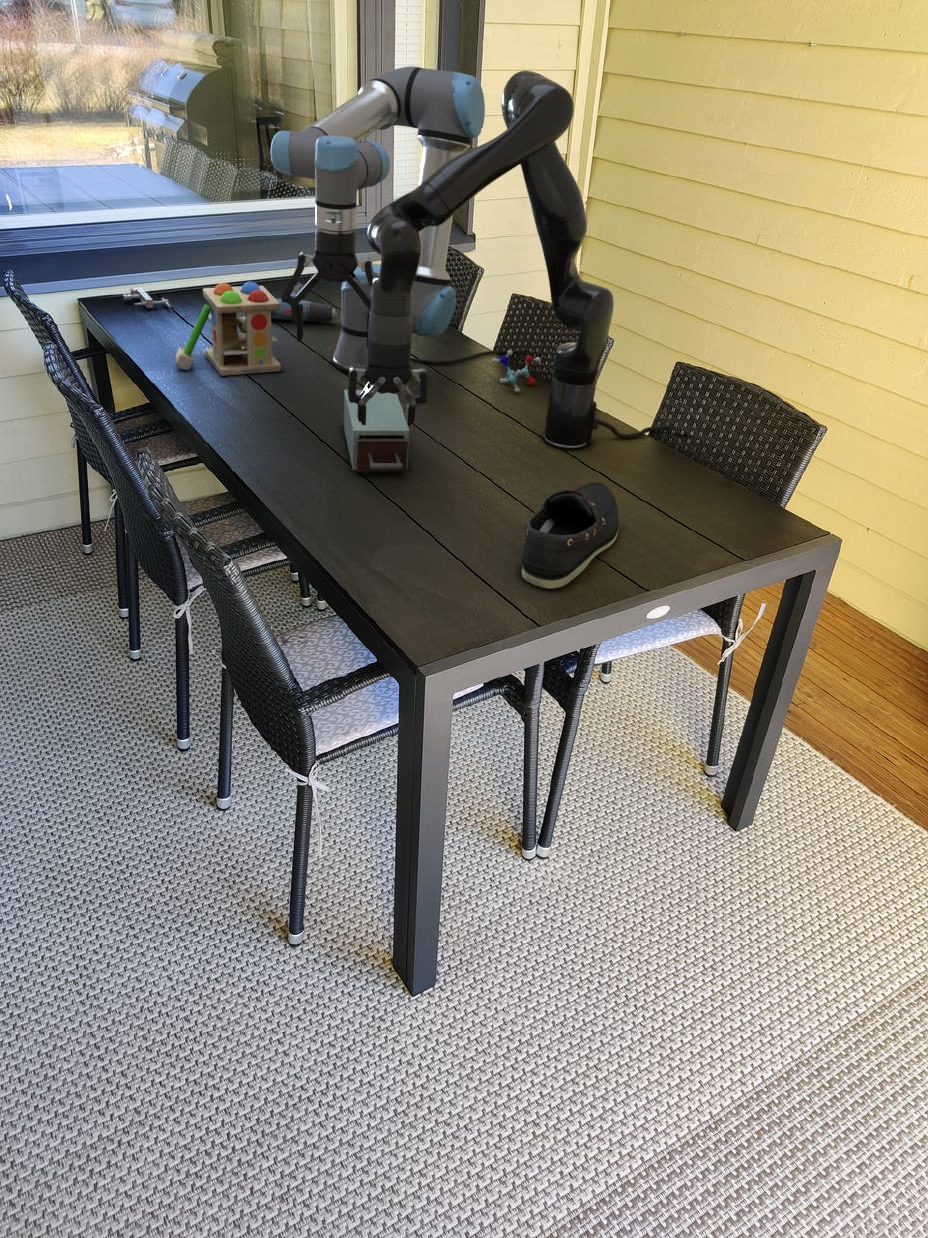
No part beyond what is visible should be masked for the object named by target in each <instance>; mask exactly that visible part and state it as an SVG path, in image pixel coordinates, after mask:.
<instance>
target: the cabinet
mask: <svg viewBox="0 0 928 1238" xmlns="http://www.w3.org/2000/svg"><path fill="white" fill-rule="evenodd" d="M363 390H364V389H356V394H358V395H360V393H361V392H362V391H363ZM399 399H400V398H399V396H398V393H397V394H392V393H384V394H379V392H376V393H375V395H374V396H373V397H372V398H370V399H369V401H368V402H367V403H366V425H362V424H361V422H359V420H358V417H357V414H358V405H357V404H356V403H351V402H349V398H348V389H344V390H343V430H344V435H345V439H346V444H347V450H348V455H349V458H350V464H351V468H352V471H357V439H359V435H401V439H407V440H408V450H407V466H408V464H409V445H410V427H409V426H407V424H406V415H405V414H404V411H403V407H402V405H401V402H400V400H399ZM406 471H408V467H407V468H406Z"/></svg>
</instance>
